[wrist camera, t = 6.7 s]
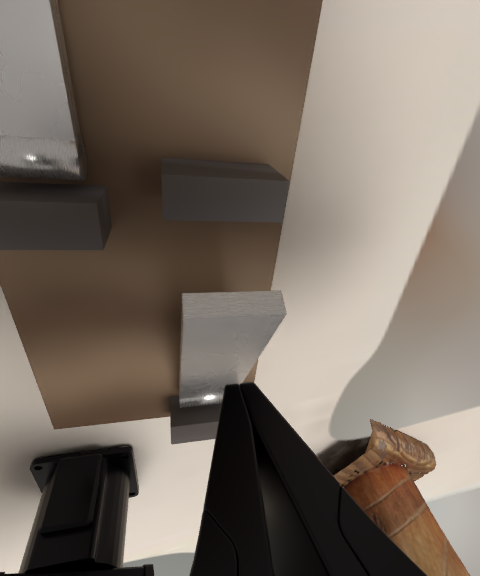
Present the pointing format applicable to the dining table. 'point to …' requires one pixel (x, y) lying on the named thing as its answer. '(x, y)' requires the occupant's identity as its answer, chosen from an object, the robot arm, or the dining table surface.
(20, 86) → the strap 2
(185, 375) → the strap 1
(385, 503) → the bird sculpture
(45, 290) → the walnut board
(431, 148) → the dining table surface
